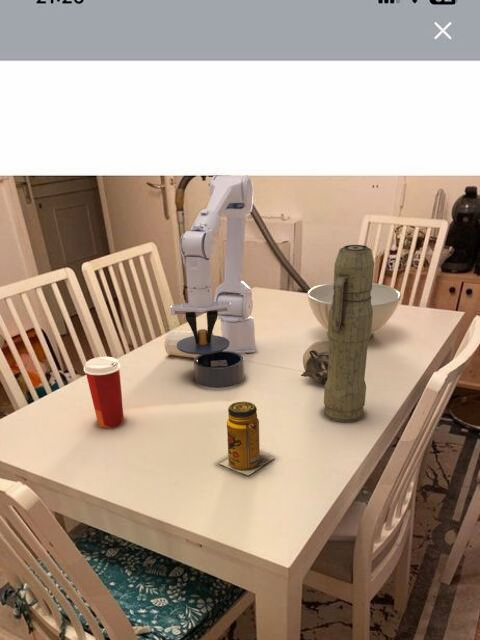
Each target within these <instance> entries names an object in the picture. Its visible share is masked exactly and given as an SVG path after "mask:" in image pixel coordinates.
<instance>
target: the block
mask: <svg viewBox="0 0 480 640" xmlns="http://www.w3.org/2000/svg"><path fill="white" fill-rule="evenodd" d="M227 366H228V365H227V361H226V360H219V361H211V367H215V368H219V367H227Z"/></svg>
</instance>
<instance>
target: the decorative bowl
mask: <svg viewBox="0 0 480 640" xmlns="http://www.w3.org/2000/svg"><path fill="white" fill-rule="evenodd" d="M333 284H334V282H329V283H324V284H320V285H317V286H314V287H312V288H310V289H308V291H307V295H306V296H307V300H308V304H309V307H310V309H311V313H312V314H313V316H314V318H315V319H316V320H317V321H318V323H319V324H320V326H322V327H323V328H324V329H325V330H327V331H328V319H329V310H330V307H331V304H332V301H333V295H334V289H333ZM401 293H402V292H400V290H398V289H397V288H394V287H392V286H389V285H385V284H381V283H376V282H375V283H374V282H373V283H372V290H371V294H370V295H371V304H372V309H373V317H372V328H371V336H372V334H373V333H375V332H376V331H378V330H379V329H381V328H382V327H383V326H384V325H385V324H387V322H388V321H389V320H390V319H391V318H392V317H393V316H394V314H395V312H396V310H397V308H398V306H399V304H400V301H401V299H402V294H401Z"/></svg>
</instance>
